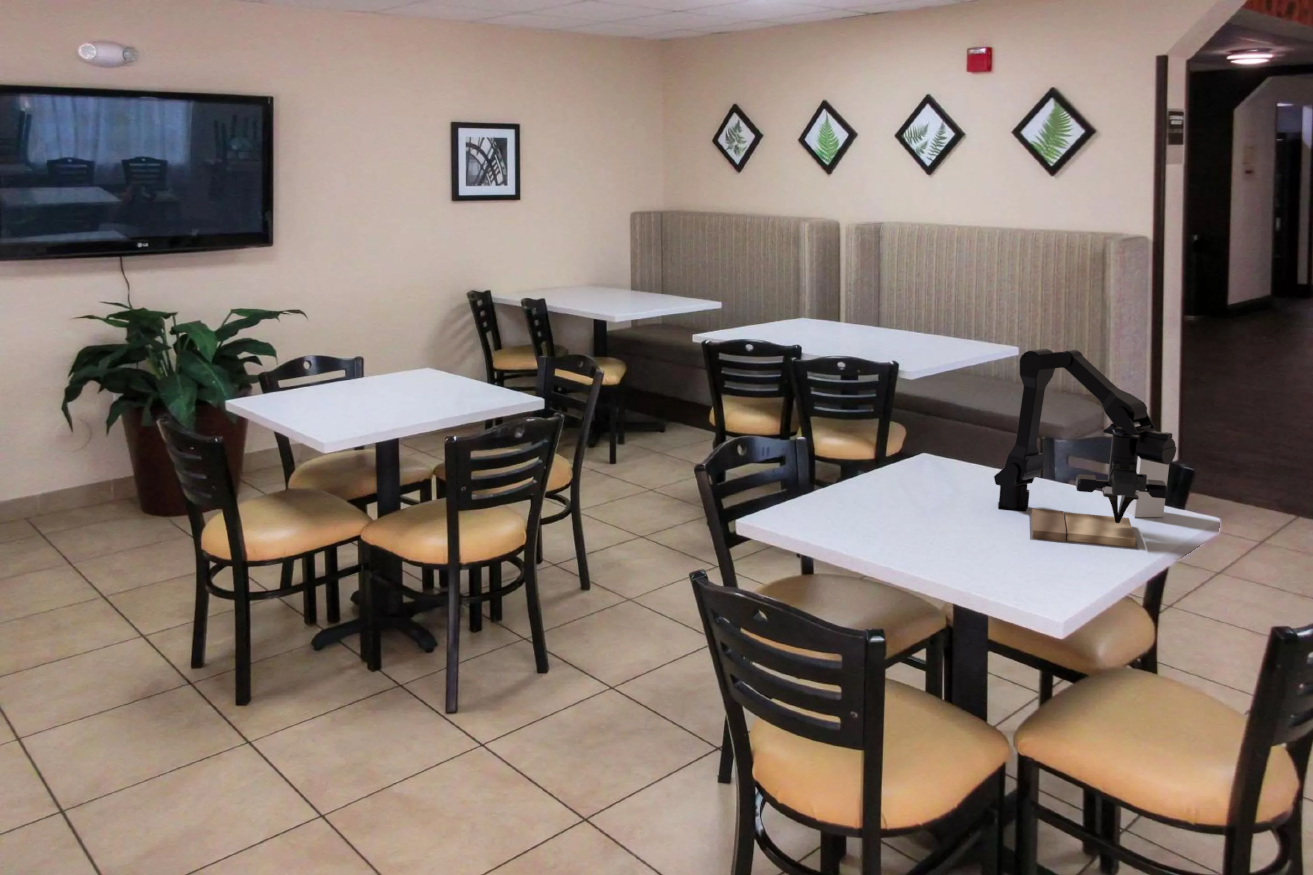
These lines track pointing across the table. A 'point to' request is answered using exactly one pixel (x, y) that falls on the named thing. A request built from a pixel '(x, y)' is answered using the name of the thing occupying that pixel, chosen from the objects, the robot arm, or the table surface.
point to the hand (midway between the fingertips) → (1117, 522)
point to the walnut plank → (1048, 525)
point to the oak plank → (1099, 529)
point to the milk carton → (1146, 503)
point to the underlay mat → (1081, 542)
